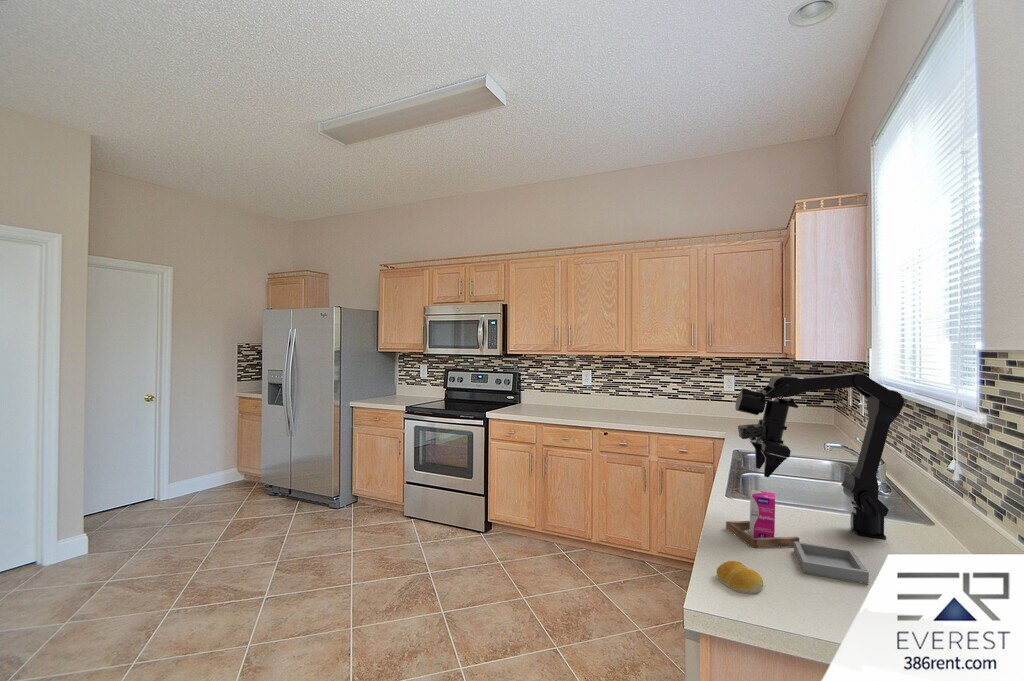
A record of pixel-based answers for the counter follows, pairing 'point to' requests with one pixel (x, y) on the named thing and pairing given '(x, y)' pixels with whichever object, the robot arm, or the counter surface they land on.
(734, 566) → the bread roll
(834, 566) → the grey tray
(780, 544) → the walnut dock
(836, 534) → the counter surface
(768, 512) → the supplement box
